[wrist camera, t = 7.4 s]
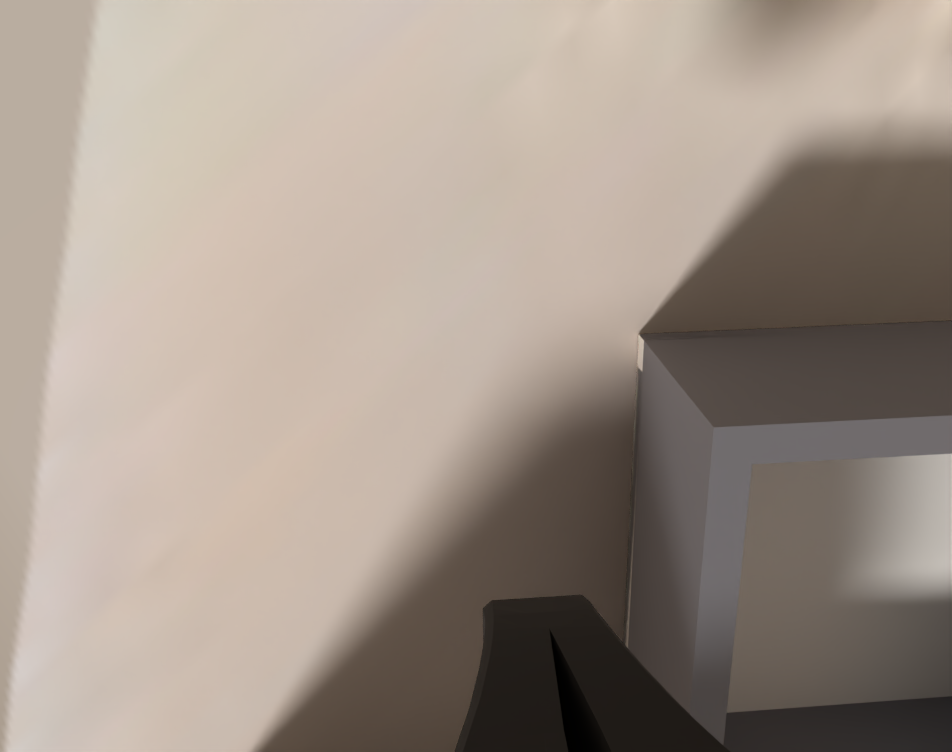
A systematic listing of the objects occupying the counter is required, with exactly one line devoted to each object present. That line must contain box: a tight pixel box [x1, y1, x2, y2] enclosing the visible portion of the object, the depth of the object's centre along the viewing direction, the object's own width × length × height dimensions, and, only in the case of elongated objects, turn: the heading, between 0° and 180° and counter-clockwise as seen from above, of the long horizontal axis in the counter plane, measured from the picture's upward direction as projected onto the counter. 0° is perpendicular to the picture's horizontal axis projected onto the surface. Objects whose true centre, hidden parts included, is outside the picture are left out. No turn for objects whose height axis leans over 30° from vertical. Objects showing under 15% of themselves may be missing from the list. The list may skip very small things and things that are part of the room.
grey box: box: [623, 321, 952, 752], centre depth 22 cm, size 12×12×6 cm
